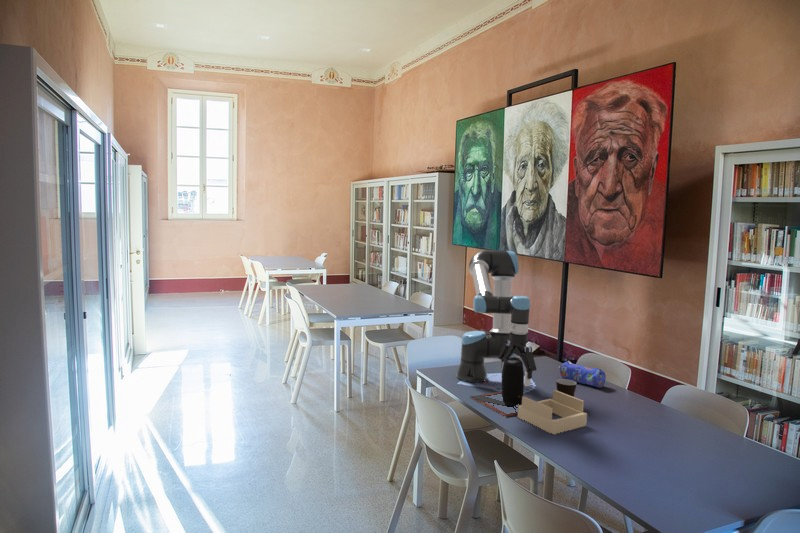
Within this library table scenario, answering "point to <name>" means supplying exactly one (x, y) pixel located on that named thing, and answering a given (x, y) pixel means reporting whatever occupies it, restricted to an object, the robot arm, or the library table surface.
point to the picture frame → (484, 399)
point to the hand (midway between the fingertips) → (515, 381)
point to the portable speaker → (512, 381)
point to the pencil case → (583, 374)
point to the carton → (560, 405)
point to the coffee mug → (566, 386)
